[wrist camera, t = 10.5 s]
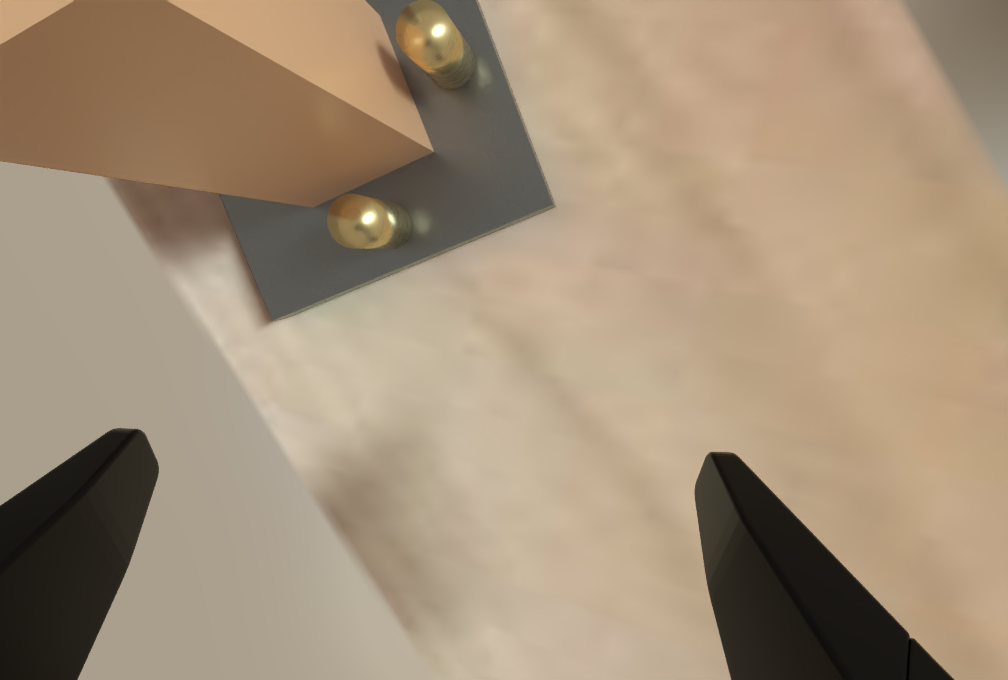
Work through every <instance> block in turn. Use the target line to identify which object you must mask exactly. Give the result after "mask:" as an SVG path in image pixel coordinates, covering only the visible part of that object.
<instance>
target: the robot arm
mask: <svg viewBox="0 0 1008 680" xmlns="http://www.w3.org/2000/svg"><path fill="white" fill-rule="evenodd" d="M158 473H159V466H158V462H157V459H156V457H155V455H154V453H153V450H152V448H151V446H150V444H149V442H148V439H147V437H146V435H145V433H144V432H143V431H141V430H138V429H122V428H117V429H113V430H110V431H109V432H107V433H105V434H104V435H103V436H101V437H100V438H98V439H97V440H95V441H94V442H92V443H91V444H89V445H88V446H87V447H85V448H84V449H82V450H81V451H79V452H78V453H76V454H75V455H73V456H72V457H71V458H69V459H68V460H66V461H65V462H63V463H62V464H60V465H59V466H57V467H56V468H55V469H53V470H52V471H50V472H49V473H47V474H46V475H44V476H43V477H42V478H40V479H39V480H37V481H36V482H34V483H33V484H31V485H30V486H28V487H27V488H26V489H24V490H23V491H21V492H20V493H18V494H17V495H15V496H14V497H13V498H11V499H9V500H8V501H7V502H5V503H4V504H2V505H1V506H0V680H77V679H78V677H79V675H80V672H81V670H82V668H83V666H84V664H85V662H86V659H87V657H88V655H89V653H90V651H91V648H92V646H93V644H94V642H95V640H96V637H97V635H98V633H99V631H100V629H101V626H102V624H103V622H104V620H105V618H106V615H107V613H108V611H109V609H110V607H111V604H112V602H113V600H114V598H115V595H116V593H117V591H118V589H119V587H120V584H121V582H122V580H123V578H124V575H125V573H126V570H127V568H128V566H129V563H130V560H131V557H132V555H133V552H134V549H135V546H136V543H137V540H138V537H139V533H140V530H141V527H142V524H143V521H144V518H145V515H146V512H147V509H148V506H149V502H150V500H151V497H152V494H153V491H154V487H155V484H156V481H157V478H158ZM695 502H696V510H697V517H698V524H699V531H700V538H701V545H702V552H703V560H704V567H705V573H706V580H707V586H708V590H709V595H710V599H711V603H712V607H713V611H714V615H715V618H716V622H717V626H718V630H719V634H720V638H721V642H722V646H723V649H724V653H725V657H726V661H727V665H728V669H729V673H730V677H731V680H954V679H953V678H952V677H951V676H950V675H949V674H948V673H947V672H946V671H945V670H944V669H943V668H942V667H941V666H940V665H939V664H938V663H937V662H936V661H935V660H934V659H933V658H932V657H931V656H930V655H929V653H928V652H927V651H926V650H925V649H924V648H923V647H922V646H921V645H920V644H919V643H918V642H917V641H916V640H915V639H913V638H910V636H909V633H908V632H907V631H906V630H905V629H904V628H903V627H902V626H901V625H900V624H899V623H898V622H897V621H896V620H895V618H894V617H893V616H892V615H891V614H890V613H889V612H888V611H887V610H886V609H885V608H884V607H883V606H882V605H881V604H880V603H879V602H878V601H877V600H876V599H875V598H874V597H873V596H872V595H871V594H870V593H869V592H868V590H867V589H866V588H865V587H864V586H863V585H862V584H861V583H860V582H859V581H858V580H857V579H856V578H855V577H854V576H853V575H852V574H851V573H850V572H849V571H848V570H847V569H846V568H845V567H844V566H843V565H842V563H841V562H840V561H839V560H838V559H837V558H836V557H835V556H834V555H833V554H832V553H831V552H830V551H829V550H828V549H827V548H826V547H825V546H824V545H823V544H822V543H821V542H820V541H819V540H818V539H817V538H816V537H815V535H814V534H813V533H812V532H811V531H810V530H809V529H808V528H807V527H806V526H805V525H804V524H803V523H802V522H801V521H800V520H799V519H798V518H797V517H796V516H795V515H794V514H793V513H792V512H791V511H790V510H789V508H788V507H787V506H786V505H785V504H784V503H783V502H782V501H781V500H780V499H779V498H778V497H777V496H776V495H775V494H774V493H773V492H772V491H771V490H770V489H769V488H768V487H767V486H766V485H765V484H764V483H763V482H762V480H761V479H760V478H759V477H758V476H757V475H756V474H755V473H754V472H753V471H752V470H751V469H750V468H749V467H748V466H747V465H746V464H745V463H744V462H743V461H742V460H741V459H740V458H739V457H738V456H737V455H736V454H734V453H730V452H710V453H709V454H708V455H707V456H706V458H705V460H704V463H703V465H702V468H701V471H700V473H699V476H698V479H697V481H696V485H695ZM909 638H910V639H909Z"/></svg>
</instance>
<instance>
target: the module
mask: <svg viewBox="0 0 1008 680" xmlns="http://www.w3.org/2000/svg"><path fill="white" fill-rule="evenodd" d="M433 152H434V151H433V148H432V145H431V143H430V140H429V138H428V135H427V133H426V130H425V128H424V125H423V123H422V120H421V118H420V115H419V113H418V110H417V108H416V105H415V103H414V100H413V98H412V95H411V93H410V90H409V88H408V85H407V83H406V80H405V77H404V75H403V72H402V70H401V67H400V65H399V62H398V60H397V57H396V55H395V52H394V50H393V47H392V45H391V42H390V40H389V37H388V35H387V32H386V30H385V27H384V25H383V22H382V20H381V17H380V15H379V14H378V13H377V12H376V11H375V10H374V9H373V8H372V7H371V6H370V5H369V4H368V3H367V2H366V1H365V0H0V161H3V162H10V163H17V164H23V165H31V166H37V167H44V168H50V169H58V170H64V171H71V172H78V173H85V174H91V175H99V176H104V177H111V178H118V179H125V180H131V181H138V182H145V183H152V184H158V185H165V186H172V187H179V188H185V189H192V190H199V191H206V192H212V193H219V194H226V195H233V196H239V197H246V198H253V199H260V200H267V201H273V202H280V203H287V204H294V205H300V206H307V207H315V206H317V205H320V204H322V203H324V202H326V201H328V200H330V199H333V198H335V197H337V196H339V195H341V194H344V193H346V192H348V191H350V190H352V189H354V188H357V187H359V186H361V185H363V184H365V183H367V182H370V181H372V180H374V179H376V178H378V177H380V176H383V175H385V174H387V173H389V172H391V171H394V170H396V169H398V168H400V167H402V166H404V165H407V164H409V163H411V162H413V161H415V160H417V159H420V158H422V157H424V156H426V155H428V154H430V153H433Z"/></svg>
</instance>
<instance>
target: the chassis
mask: <svg viewBox="0 0 1008 680" xmlns="http://www.w3.org/2000/svg"><path fill="white" fill-rule="evenodd" d="M365 1H366V2H367V3H368V4H369V5H370V6H371V7H372V8H373V9H374V10H375V11H376V12H377V13H378V14H379V15H380V17H381V20H382V22H383V25H384V27H385V30H386V32H387V35H388V37H389V40H390V42H391V45H392V47H393V50H394V52H395V55H396V57H397V60H398V62H399V65H400V67H401V70H402V72H403V75H404V77H405V80H406V83H407V85H408V88H409V90H410V93H411V95H412V98H413V100H414V103H415V105H416V108H417V110H418V113H419V115H420V118H421V120H422V123H423V125H424V128H425V130H426V133H427V135H428V138H429V140H430V143H431V145H432V148H433V151H434V152H433V153H430V154H428V155H426V156H424V157H422V158H420V159H417V160H415V161H413V162H411V163H409V164H407V165H404V166H402V167H400V168H398V169H396V170H394V171H391V172H389V173H387V174H385V175H383V176H380V177H378V178H376V179H374V180H372V181H370V182H367V183H365V184H363V185H361V186H359V187H357V188H354V189H352V190H350V191H348V192H346V193H344V194H341V195H339V196H337V197H335V198H333V199H330V200H328V201H326V202H324V203H322V204H320V205H317V206H315V207H307V206H300V205H294V204H287V203H280V202H273V201H267V200H260V199H253V198H246V197H239V196H233V195H226V194H219V195H220V197H221V200H222V202H223V205H224V207H225V209H226V212H227V214H228V216H229V219H230V221H231V224H232V226H233V228H234V231H235V233H236V236H237V238H238V240H239V243H240V245H241V248H242V250H243V252H244V255H245V257H246V260H247V262H248V264H249V267H250V269H251V272H252V274H253V276H254V279H255V281H256V284H257V286H258V288H259V291H260V293H261V296H262V298H263V300H264V303H265V305H266V307H267V310H268V312H269V315H270V317H271V319H272V321H274V320H279V319H284V318H288V317H290V316H293V315H295V314H298V313H300V312H302V311H305V310H307V309H310V308H312V307H314V306H317V305H319V304H322V303H324V302H327V301H329V300H331V299H334V298H336V297H339V296H341V295H343V294H346V293H348V292H351V291H353V290H356V289H358V288H360V287H363V286H365V285H368V284H370V283H373V282H375V281H377V280H380V279H382V278H385V277H387V276H389V275H392V274H394V273H397V272H399V271H402V270H404V269H406V268H409V267H411V266H414V265H416V264H419V263H421V262H423V261H426V260H428V259H431V258H433V257H435V256H438V255H440V254H443V253H445V252H448V251H450V250H452V249H455V248H457V247H460V246H462V245H464V244H467V243H469V242H472V241H474V240H477V239H479V238H481V237H484V236H486V235H489V234H491V233H494V232H496V231H498V230H501V229H503V228H506V227H508V226H510V225H513V224H515V223H518V222H520V221H523V220H525V219H527V218H530V217H532V216H535V215H537V214H539V213H542V212H544V211H547V210H549V209H552V208H554V207H556V206H555V203H554V201H553V198H552V195H551V193H550V190H549V187H548V185H547V182H546V179H545V177H544V174H543V172H542V169H541V166H540V164H539V161H538V158H537V156H536V153H535V150H534V148H533V145H532V142H531V140H530V137H529V134H528V132H527V129H526V127H525V124H524V121H523V119H522V116H521V113H520V111H519V108H518V105H517V103H516V100H515V97H514V95H513V92H512V89H511V87H510V84H509V82H508V79H507V76H506V74H505V71H504V68H503V66H502V63H501V60H500V58H499V55H498V52H497V50H496V47H495V44H494V42H493V39H492V36H491V34H490V31H489V29H488V26H487V23H486V21H485V18H484V15H483V13H482V10H481V7H480V5H479V2H478V0H365Z"/></svg>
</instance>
